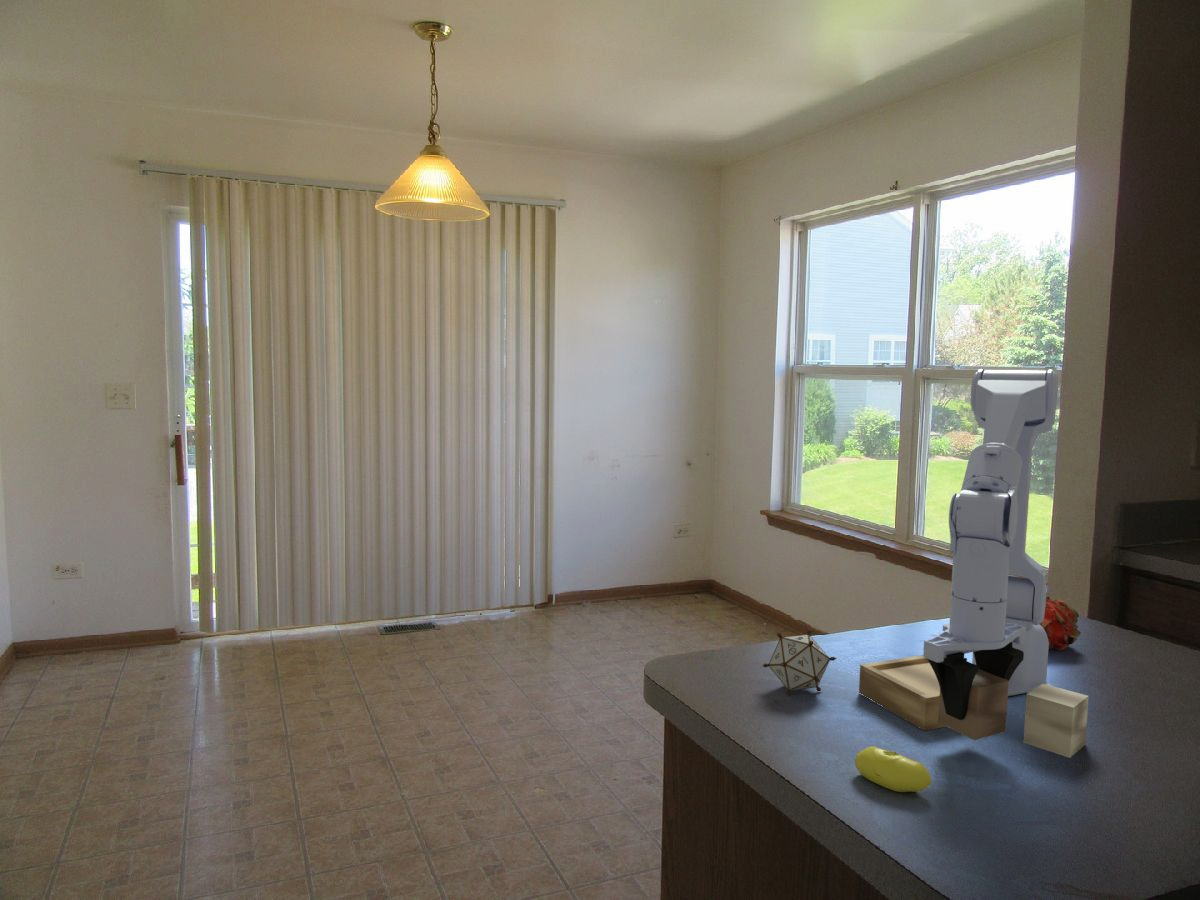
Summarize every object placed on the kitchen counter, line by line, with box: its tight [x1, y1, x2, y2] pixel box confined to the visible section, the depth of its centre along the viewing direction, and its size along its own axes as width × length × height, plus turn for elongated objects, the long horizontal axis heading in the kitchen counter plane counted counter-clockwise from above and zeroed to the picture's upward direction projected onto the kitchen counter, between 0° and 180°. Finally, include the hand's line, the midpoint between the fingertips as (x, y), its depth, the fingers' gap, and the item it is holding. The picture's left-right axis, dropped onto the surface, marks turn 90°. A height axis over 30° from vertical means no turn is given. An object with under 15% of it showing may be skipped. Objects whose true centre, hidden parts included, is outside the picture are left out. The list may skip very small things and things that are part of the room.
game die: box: [761, 628, 837, 697], centre depth 110 cm, size 9×8×10 cm
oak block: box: [858, 655, 946, 731], centre depth 106 cm, size 12×12×4 cm
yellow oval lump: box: [854, 745, 932, 793], centre depth 85 cm, size 4×8×4 cm, turn 44°
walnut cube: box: [938, 669, 1009, 741], centre depth 93 cm, size 5×5×6 cm
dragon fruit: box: [1040, 596, 1082, 651], centre depth 129 cm, size 8×8×12 cm
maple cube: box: [1022, 684, 1090, 759], centre depth 95 cm, size 5×5×6 cm
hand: (972, 711), depth 93 cm, fingers closed on walnut cube, 5 cm apart
